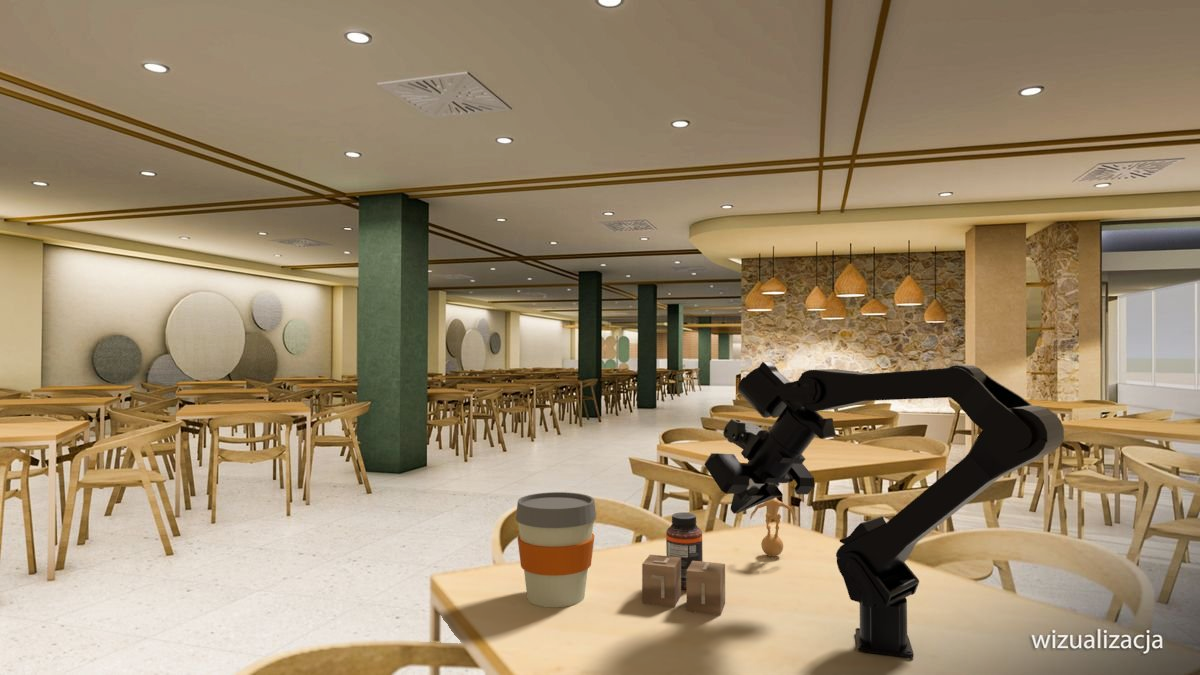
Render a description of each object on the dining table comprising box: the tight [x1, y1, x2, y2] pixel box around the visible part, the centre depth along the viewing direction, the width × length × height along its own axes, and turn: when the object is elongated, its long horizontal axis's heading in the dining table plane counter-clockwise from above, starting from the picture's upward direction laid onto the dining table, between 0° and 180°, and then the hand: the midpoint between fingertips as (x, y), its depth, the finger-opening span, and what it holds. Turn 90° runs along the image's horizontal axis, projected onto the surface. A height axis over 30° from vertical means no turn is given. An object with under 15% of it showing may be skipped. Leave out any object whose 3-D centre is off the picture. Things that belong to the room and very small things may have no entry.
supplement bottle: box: [665, 511, 704, 590], centre depth 110 cm, size 6×6×11 cm
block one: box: [686, 561, 726, 616], centre depth 100 cm, size 5×5×6 cm
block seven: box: [641, 554, 682, 608], centre depth 103 cm, size 5×5×6 cm
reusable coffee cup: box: [515, 491, 597, 608], centre depth 104 cm, size 13×13×15 cm
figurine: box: [749, 497, 797, 557], centre depth 124 cm, size 8×6×12 cm
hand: (733, 511), depth 105 cm, fingers closed
